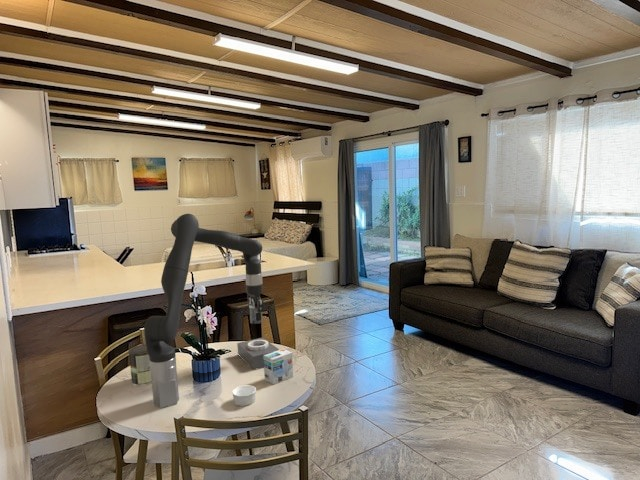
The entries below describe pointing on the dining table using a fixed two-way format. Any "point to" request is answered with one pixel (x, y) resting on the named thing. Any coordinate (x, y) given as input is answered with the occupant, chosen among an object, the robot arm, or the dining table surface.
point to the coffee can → (140, 366)
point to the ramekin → (244, 395)
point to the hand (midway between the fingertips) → (256, 318)
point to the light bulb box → (278, 366)
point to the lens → (254, 315)
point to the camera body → (255, 351)
